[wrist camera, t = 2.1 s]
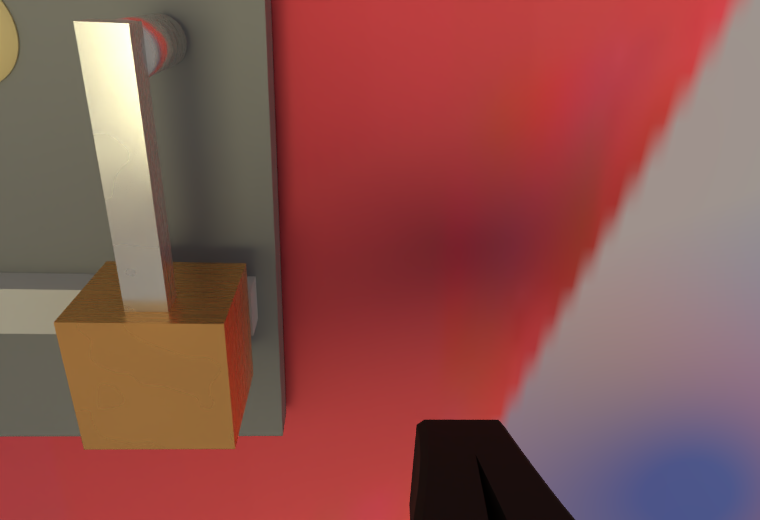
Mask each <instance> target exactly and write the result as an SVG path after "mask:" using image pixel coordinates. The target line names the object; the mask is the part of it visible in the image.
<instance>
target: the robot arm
mask: <svg viewBox="0 0 760 520" xmlns="http://www.w3.org/2000/svg"><path fill="white" fill-rule="evenodd" d="M410 520H575V519H574V518H573V517H572V515H571V514H570V513H569V512H568V511H567V509H566V508H565V507H564V506H563V505H562V503H561V502H560V501H559V499H558V498H557V497H556V496H555V494H554V493H553V492H552V491H551V489H550V488H549V487H548V485H547V484H546V483H545V481H544V480H543V479H542V477H541V476H540V475H539V473H538V472H537V471H536V470H535V468H534V467H533V466H532V464H531V463H530V461H529V460H528V459H527V457H526V456H525V455H524V453H523V452H522V451H521V449H520V448H519V447H518V445H517V444H516V442H515V441H514V440H513V438H512V437H511V435H510V434H509V433H508V431H507V430H506V428H505V427H504V426H503V425H502V423H501V422H500V421H499V420H423V421H422V422H420V423H419V424H418V425H417V427H416V438H415V449H414V461H413V472H412V483H411V494H410Z"/></svg>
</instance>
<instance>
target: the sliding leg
mask: <svg viewBox="0 0 760 520" xmlns="http://www.w3.org/2000/svg"><path fill="white" fill-rule="evenodd" d="M73 23H74V28H75V34H76V40H77V45H78V51H79V57H80V62H81V68H82V74H83V79H84V85H85V91H86V96H87V102H88V108H89V113H90V119H91V125H92V130H93V136H94V142H95V147H96V153H97V159H98V164H99V170H100V176H101V181H102V187H103V193H104V198H105V204H106V210H107V215H108V221H109V227H110V232H111V238H112V244H113V249H114V255H115V261H106V262H105V264H104V265H103V266H102V267H101V268H100V269H99V270H98V272H97V273H96V274H95V275H94V276H93V277H92V279H91V280H90V281H89V282H88V283H87V284H86V285H85V287H84V288H83V289H82V290H81V291H80V292H79V294H78V295H77V296H76V297H75V298H74V299H73V300H72V302H71V303H70V304H69V305H68V306H67V307H66V309H65V310H64V311H63V312H62V313H61V314H60V315H59V317H58V318H57V319H56V320H55V321H54V322H53V323H54V327H55V331H56V335H57V339H58V343H59V347H60V352H61V356H62V360H63V364H64V368H65V372H66V376H67V381H68V385H69V389H70V393H71V397H72V401H73V405H74V410H75V414H76V418H77V422H78V426H79V430H80V434H81V439H82V443H83V447H84V449H235V447H236V443H237V439H238V435H239V431H240V427H241V423H242V418H243V414H244V410H245V406H246V402H247V398H248V394H249V390H250V386H251V382H252V378H253V360H252V345H251V329H250V314H249V299H248V284H247V269H246V263H194V262H173V261H172V253H171V245H170V237H169V230H168V222H167V214H166V206H165V198H164V191H163V183H162V175H161V167H160V159H159V152H158V144H157V136H156V128H155V121H154V113H153V105H152V97H151V89H150V82H149V77H151V76H153V75H155V74H157V73H159V72H161V71H163V70H165V69H168V68H170V67H172V66H174V65H176V64H177V63H179V62H180V61H181V60H182V59H183V57H184V55H185V53H186V49H187V40H186V36H185V33H184V31H183V29H182V27H181V26H180V24H179V23H178V22H177V21H176V20H174V19H173V18H172V17H170V16H168V15H165V14H162V13H151V14H145V15H139V16H133V17H127V18H121V19H115V20H107V19H85V20H78V21H73Z"/></svg>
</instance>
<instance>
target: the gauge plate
mask: <svg viewBox="0 0 760 520" xmlns="http://www.w3.org/2000/svg"><path fill="white" fill-rule="evenodd" d="M151 13H162V14H165V15H168V16H170V17H172V18H173V19H174V20H176V21H177V22H178V23H179V24H180V26H181V27H182V29H183V31H184V33H185V36H186V40H187V49H186V53H185V55H184V57H183V59H182V60H181V61H180V62H179V63H177V64H176V65H174V66H172V67H170V68H168V69H165V70H163V71H161V72H159V73H157V74H155V75H153V76H151V77H149V82H150V89H151V97H152V105H153V113H154V121H155V128H156V136H157V144H158V152H159V159H160V167H161V175H162V183H163V191H164V198H165V206H166V214H167V222H168V230H169V237H170V245H171V253H172V261H173V262H194V263H246V269H247V284H248V299H249V314H250V329H251V345H252V360H253V378H252V382H251V386H250V390H249V394H248V398H247V402H246V406H245V410H244V414H243V418H242V423H241V427H240V431H239V435H238V436H283V430H284V424H285V417H286V393H285V366H284V339H283V312H282V285H281V258H280V231H279V204H278V177H277V150H276V123H275V96H274V69H273V42H272V16H271V0H0V436H81V434H80V430H79V426H78V422H77V418H76V414H75V410H74V405H73V401H72V397H71V393H70V389H69V385H68V381H67V376H66V372H65V368H64V364H63V360H62V356H61V352H60V347H59V343H58V339H57V335H56V331H55V327H54V323H53V322H54V321H55V320H56V319H57V318H58V317H59V315H60V314H61V313H62V312H63V311H64V310H65V309H66V307H67V306H68V305H69V304H70V303H71V302H72V300H73V299H74V298H75V297H76V296H77V295H78V294H79V292H80V291H81V290H82V289H83V288H84V287H85V285H86V284H87V283H88V282H89V281H90V280H91V279H92V277H93V276H94V275H95V274H96V273H97V272H98V270H99V269H100V268H101V267H102V266H103V265H104V264H105V262H106V261H115V255H114V249H113V244H112V238H111V232H110V227H109V221H108V215H107V210H106V204H105V198H104V193H103V187H102V181H101V176H100V170H99V164H98V159H97V153H96V147H95V142H94V136H93V130H92V125H91V119H90V113H89V108H88V102H87V96H86V91H85V85H84V79H83V74H82V68H81V62H80V57H79V51H78V45H77V40H76V34H75V28H74V23H73V21H78V20H85V19H107V20H115V19H121V18H127V17H133V16H139V15H145V14H151Z"/></svg>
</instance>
